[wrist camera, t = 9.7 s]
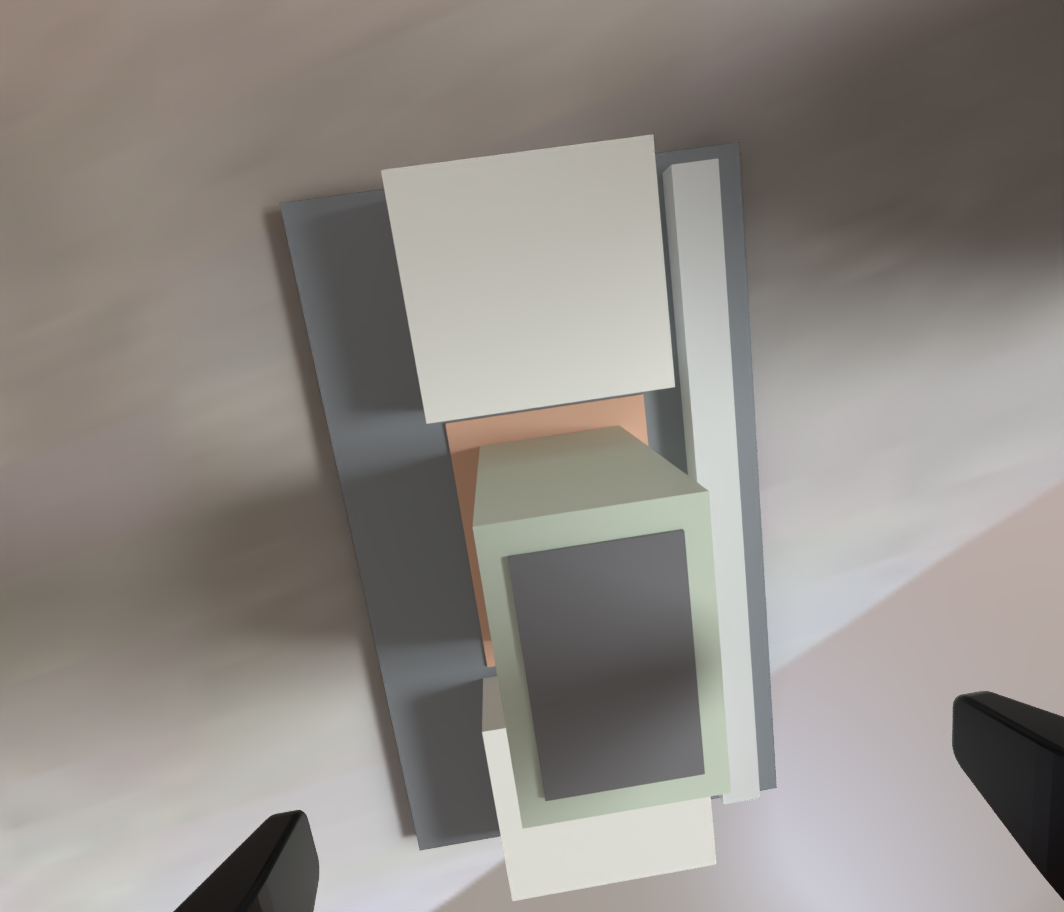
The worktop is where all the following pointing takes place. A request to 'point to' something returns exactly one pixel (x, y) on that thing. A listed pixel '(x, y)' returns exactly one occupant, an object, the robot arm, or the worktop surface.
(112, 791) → the worktop surface
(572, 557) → the block
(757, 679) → the rail board
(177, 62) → the worktop surface
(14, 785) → the worktop surface
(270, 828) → the robot arm
